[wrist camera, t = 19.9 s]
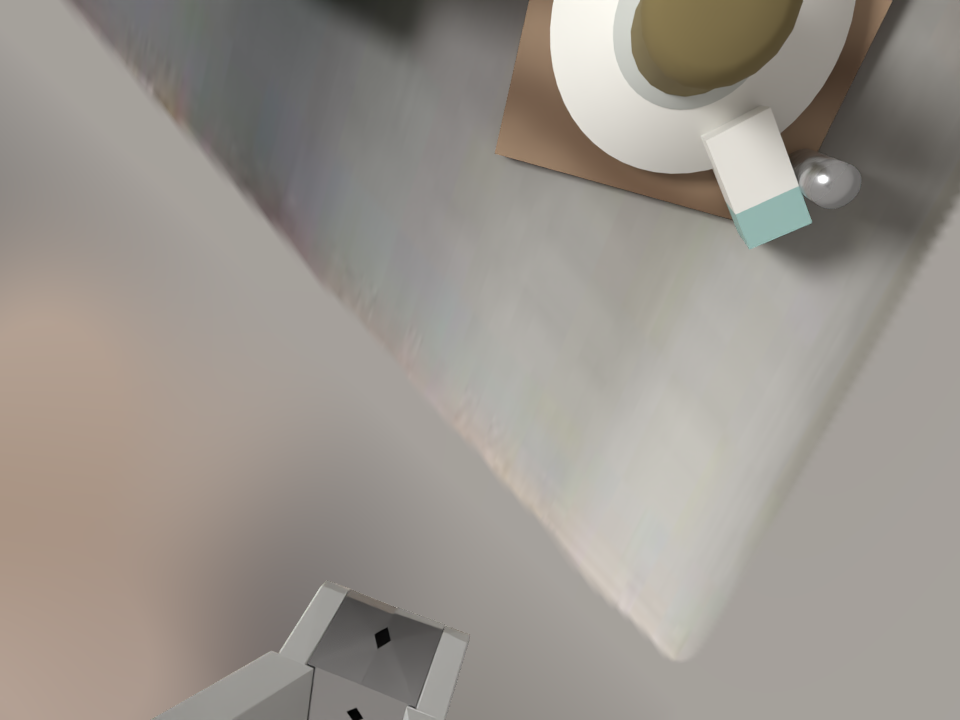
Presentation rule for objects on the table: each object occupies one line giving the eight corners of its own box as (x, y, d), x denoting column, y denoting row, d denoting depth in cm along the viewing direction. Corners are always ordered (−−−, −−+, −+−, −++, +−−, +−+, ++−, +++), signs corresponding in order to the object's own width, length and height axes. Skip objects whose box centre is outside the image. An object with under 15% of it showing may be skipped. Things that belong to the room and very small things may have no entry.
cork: (662, -64, 26) (677, -149, 17) (788, -24, 26) (878, -88, 16) (611, 75, 29) (599, 71, 20) (723, 113, 29) (767, 128, 19)
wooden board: (582, -218, 26) (580, -231, 25) (956, -145, 25) (970, -155, 24) (498, 151, 35) (494, 153, 34) (774, 228, 33) (778, 233, 32)
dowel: (786, 142, 31) (824, 157, 25) (824, 152, 31) (870, 169, 24) (770, 179, 32) (802, 201, 26) (805, 188, 31) (846, 214, 25)
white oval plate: (507, -26, 29) (491, -39, 26) (791, -237, 24) (815, -288, 20) (646, 273, 34) (647, 292, 31) (909, 158, 29) (943, 167, 25)
